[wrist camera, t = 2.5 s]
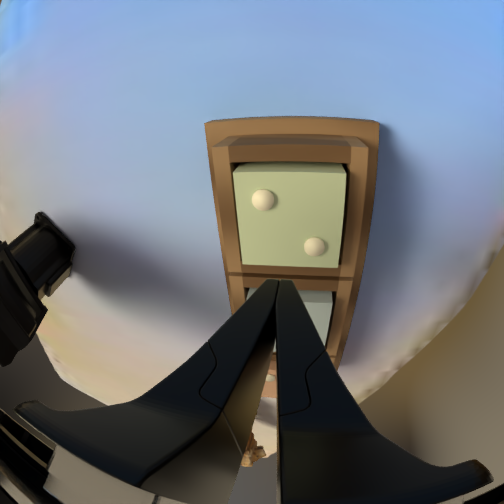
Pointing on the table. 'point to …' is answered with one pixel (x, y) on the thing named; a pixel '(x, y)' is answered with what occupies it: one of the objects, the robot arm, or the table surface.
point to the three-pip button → (270, 382)
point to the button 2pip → (290, 212)
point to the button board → (308, 150)
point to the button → (314, 309)
